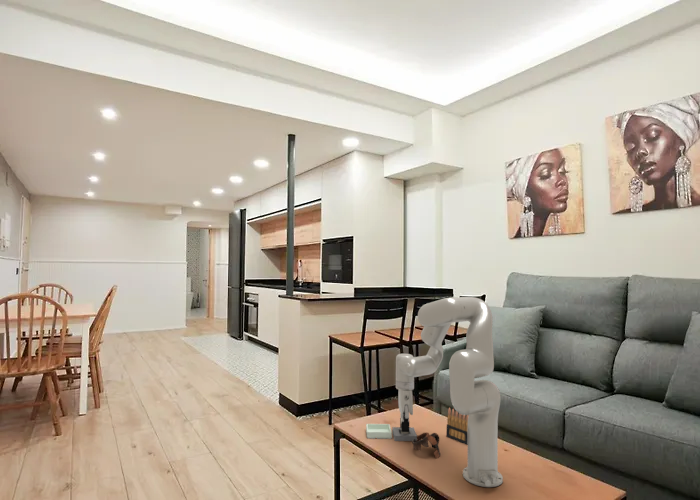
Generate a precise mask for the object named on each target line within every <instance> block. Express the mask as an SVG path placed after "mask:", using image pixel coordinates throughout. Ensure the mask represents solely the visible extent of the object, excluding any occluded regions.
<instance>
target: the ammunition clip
mask: <svg viewBox="0 0 700 500" xmlns="http://www.w3.org/2000/svg"><path fill="white" fill-rule="evenodd" d="M447 411H448V412H447V417H446V418H447V424H446V435H445V437H446V438H449V439H451V440H453V441H456V442H459V443H461V444H464V445H467V446H468V417H469V415H462V414H459V413H458V412H457V411H456V410H455V409H454V408H452V410H451V407H448V409H447Z"/></svg>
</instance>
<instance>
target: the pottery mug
mask: <svg viewBox="0 0 700 500" xmlns="http://www.w3.org/2000/svg"><path fill="white" fill-rule="evenodd" d="M416 438H417V440H415V439H414V440H413V441H411V442H412V444H413V446H412V447H413V448H412V449H413V450H417V451H418V450H419V451H422V450H421V448H422V447H424V448H429V446H430V445H431V447H432V449H435V451H434V452H433V454H434V456H435V457H434V458H435V459H438V458H439V457H440V455H441V452H440V447H439V444H440V436H439V434H438V433H436V432H433V433H431V434H430V433H429V432H423V433H421V434H419V435H417V437H416ZM429 443H430V445H429Z"/></svg>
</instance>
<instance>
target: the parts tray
mask: <svg viewBox="0 0 700 500" xmlns="http://www.w3.org/2000/svg"><path fill="white" fill-rule="evenodd" d="M365 426H366V427H365V431H366V432H365V433H366V439H375V438H377V439H381V440H383V439H385V440H387V439H389V440H392V439H393V437H392V436H393V433H392V428H391V424H390V423H366V425H365Z"/></svg>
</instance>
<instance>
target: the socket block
mask: <svg viewBox="0 0 700 500" xmlns="http://www.w3.org/2000/svg"><path fill="white" fill-rule="evenodd" d="M391 432H392V436H393V439H394V440H393V441H394V442H412V441H413V440H414V439H415V440H417V438H416V437H417V436H418V435H417V432H416V430H415V428H414V427H412V426H409V434H401V428H400V426H397V427H396V426H395V427H394V426H392V428H391Z"/></svg>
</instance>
